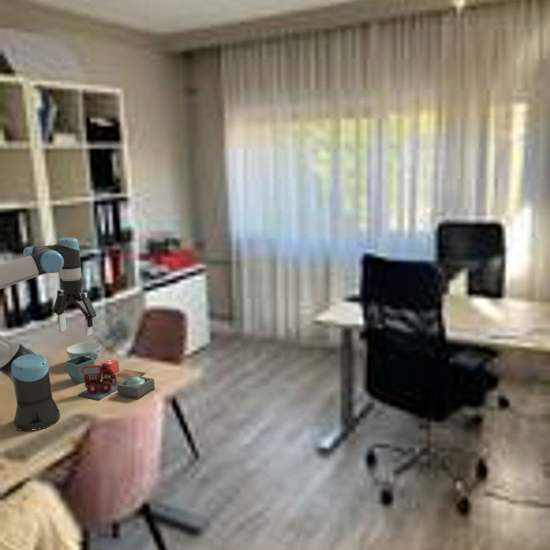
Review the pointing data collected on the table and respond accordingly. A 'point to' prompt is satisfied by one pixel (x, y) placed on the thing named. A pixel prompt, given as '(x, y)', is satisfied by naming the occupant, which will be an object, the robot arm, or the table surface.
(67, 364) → the flower pot
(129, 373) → the board
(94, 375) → the toy fire truck
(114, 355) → the table surface
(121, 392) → the dome housing
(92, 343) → the chinaware
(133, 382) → the dome cap
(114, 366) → the die
